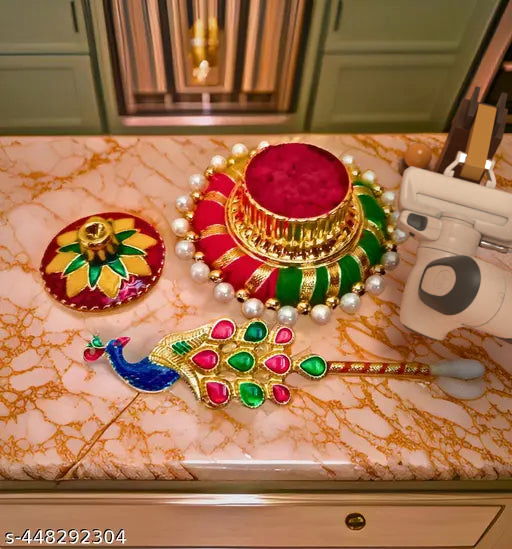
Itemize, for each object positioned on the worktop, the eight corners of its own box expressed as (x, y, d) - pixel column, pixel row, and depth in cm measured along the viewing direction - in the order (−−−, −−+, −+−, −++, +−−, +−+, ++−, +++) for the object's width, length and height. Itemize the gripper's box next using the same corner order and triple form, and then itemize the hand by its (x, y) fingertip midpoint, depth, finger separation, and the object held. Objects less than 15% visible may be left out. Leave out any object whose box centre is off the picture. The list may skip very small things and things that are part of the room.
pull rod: (478, 181, 92) (484, 168, 89) (459, 176, 92) (465, 163, 90) (491, 120, 100) (497, 107, 97) (473, 116, 100) (479, 103, 98)
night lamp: (416, 158, 128) (425, 133, 122) (432, 176, 125) (441, 152, 119) (393, 166, 126) (401, 141, 120) (408, 184, 124) (417, 160, 117)
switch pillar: (457, 226, 118) (509, 125, 95) (419, 215, 119) (461, 113, 96) (464, 198, 122) (514, 95, 99) (426, 188, 123) (468, 84, 101)
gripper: (522, 255, 87) (549, 168, 87) (389, 216, 90) (416, 133, 91) (510, 259, 93) (535, 179, 94) (386, 223, 97) (411, 146, 97)
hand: (475, 156), depth 92 cm, fingers closed on pull rod, 3 cm apart
